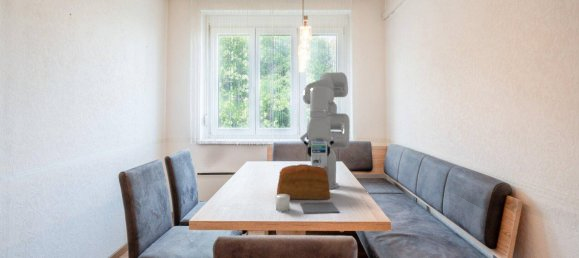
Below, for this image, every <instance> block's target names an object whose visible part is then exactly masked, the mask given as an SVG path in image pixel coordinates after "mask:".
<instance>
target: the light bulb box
mask: <svg viewBox="0 0 579 258" xmlns="http://www.w3.org/2000/svg"><path fill="white" fill-rule="evenodd" d="M310 165H312V166H318V167H319V166H327V141H317V140H315V141H311V156H310Z"/></svg>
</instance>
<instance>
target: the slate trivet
mask: <svg viewBox="0 0 579 258" xmlns="http://www.w3.org/2000/svg"><path fill="white" fill-rule="evenodd" d="M299 204H300V207H301V210H302V212H303V214H305V215H307V214H309V215H310V214H311V215H312V214H313V215H314V214H337V213H340V211H339V209H338V208H337V207H336V205H335V204H334V202H332V201H324V202H322V201H321V202H320V201H318V202H316V201H315V202H300V203H299Z"/></svg>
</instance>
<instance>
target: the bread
mask: <svg viewBox="0 0 579 258" xmlns="http://www.w3.org/2000/svg"><path fill="white" fill-rule="evenodd" d="M278 194H287V195H289V196H290V200H329V199H331V189H329V182H328V175H327V172H326V171H325V170H324V168H321V167H319V166H312V164H303V163H302V164H296V165H295V164H293V165H289V166H285V167H282V169H280V171H279V176H278V183H277V188H276V195H278Z"/></svg>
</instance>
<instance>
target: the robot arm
mask: <svg viewBox="0 0 579 258" xmlns="http://www.w3.org/2000/svg"><path fill="white" fill-rule="evenodd" d="M348 83H349V82H348V77H347V75H346V74H345V72H326V73H323V74H321V76H320V77H319V79H318V80H315V81H313V82H310V83H308V84H307V85H306V86H305V88H304V89H303V92H302V101H303V102H304V103H305V104H306V105H309V107H310V108H309V109H310V110H309V113H310V114H309V118H307V125H306V133H304V134H303V135H302V136H301V137H299V139H300V140H301V142H302V143H303V144H304V145H305V146H307V147H306V148H307V149H306V150H307V151H306V152H307V155H308V156H309V157H311V141H315V140H317V141H327V166H318V167H321V168H324V170H325V171H326V172H327V175H328V182H329V189H330V190H333V189H337V188H339V183H337V155H336V153H335V151H334V150H333V149H347V148H349V144H350V126H351V125H350V117H349V115H348V114H347V113H338V111H337V110H338V106H337V104H336V102H335V101H334V100H335V98H345V97H347V95H348V94H349V84H348ZM331 130H332V131H331ZM333 130H334V131H333ZM306 139H307V140H308V141H306Z"/></svg>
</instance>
